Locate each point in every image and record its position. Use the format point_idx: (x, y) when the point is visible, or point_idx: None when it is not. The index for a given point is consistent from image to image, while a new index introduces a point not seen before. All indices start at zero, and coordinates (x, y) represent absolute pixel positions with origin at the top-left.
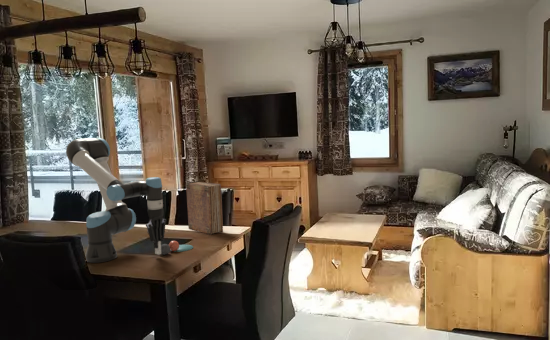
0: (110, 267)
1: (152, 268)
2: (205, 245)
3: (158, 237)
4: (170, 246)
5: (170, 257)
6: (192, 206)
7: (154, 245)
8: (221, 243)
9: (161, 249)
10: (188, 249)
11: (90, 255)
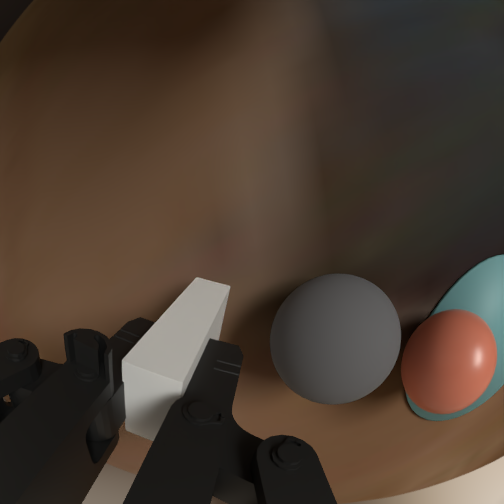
0: (5, 84)
1: None
2: (485, 432)
3: (205, 463)
4: (414, 362)
5: (239, 391)
6: None
7: (115, 341)
8: (485, 461)
9: (273, 336)
10: (434, 415)
11: None
